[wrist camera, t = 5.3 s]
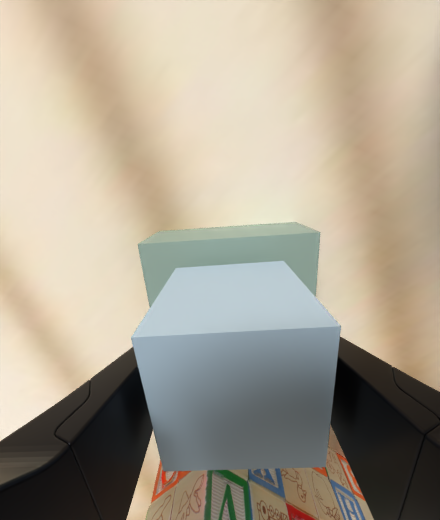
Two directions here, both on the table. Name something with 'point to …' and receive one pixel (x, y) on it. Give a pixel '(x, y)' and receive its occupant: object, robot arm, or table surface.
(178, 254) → the pale green block
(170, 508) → the stack of blocks
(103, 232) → the table surface
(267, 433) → the cube
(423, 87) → the table surface
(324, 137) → the table surface
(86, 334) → the table surface
